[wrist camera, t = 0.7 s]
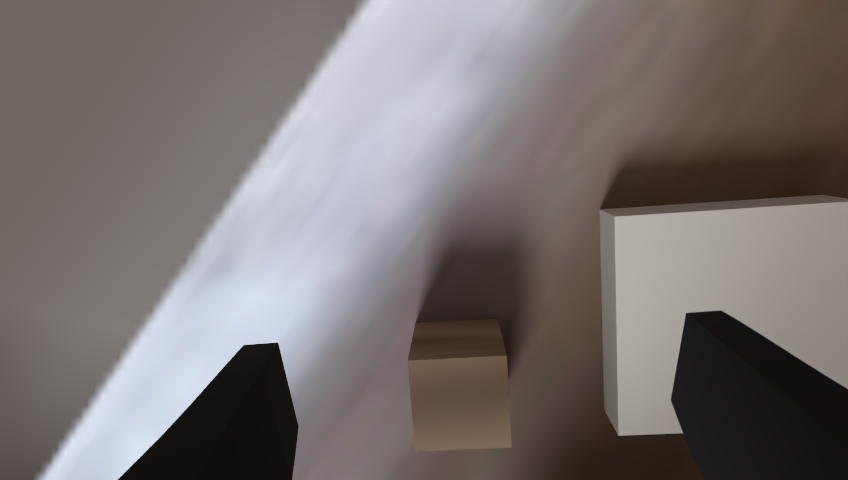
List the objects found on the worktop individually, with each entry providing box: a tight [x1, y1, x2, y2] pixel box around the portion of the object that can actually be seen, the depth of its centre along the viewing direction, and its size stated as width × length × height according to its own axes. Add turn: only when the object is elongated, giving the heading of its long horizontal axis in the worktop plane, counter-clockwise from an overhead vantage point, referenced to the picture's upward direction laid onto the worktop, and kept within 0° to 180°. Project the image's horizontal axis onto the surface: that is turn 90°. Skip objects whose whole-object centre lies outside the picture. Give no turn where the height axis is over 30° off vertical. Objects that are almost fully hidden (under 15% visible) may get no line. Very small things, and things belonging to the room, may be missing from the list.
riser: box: [600, 195, 848, 436], centre depth 27 cm, size 10×10×3 cm
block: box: [408, 318, 511, 451], centre depth 26 cm, size 4×4×5 cm
